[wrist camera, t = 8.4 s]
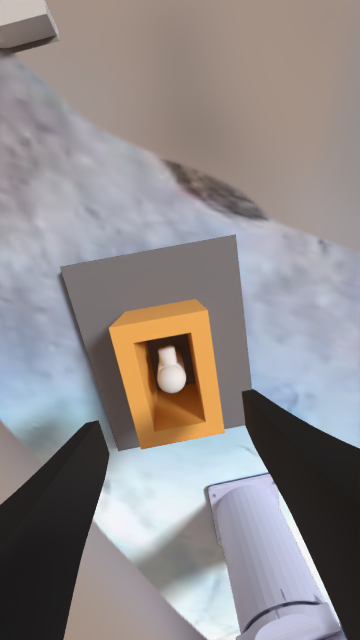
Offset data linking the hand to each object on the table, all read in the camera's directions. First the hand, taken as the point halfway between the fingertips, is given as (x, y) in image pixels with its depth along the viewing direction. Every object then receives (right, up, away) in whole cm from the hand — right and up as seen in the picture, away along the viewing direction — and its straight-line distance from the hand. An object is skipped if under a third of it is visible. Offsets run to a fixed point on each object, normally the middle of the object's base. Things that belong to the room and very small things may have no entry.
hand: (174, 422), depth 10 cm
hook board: (-1, +2, +9) cm, 9 cm away
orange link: (-1, +2, +8) cm, 8 cm away
